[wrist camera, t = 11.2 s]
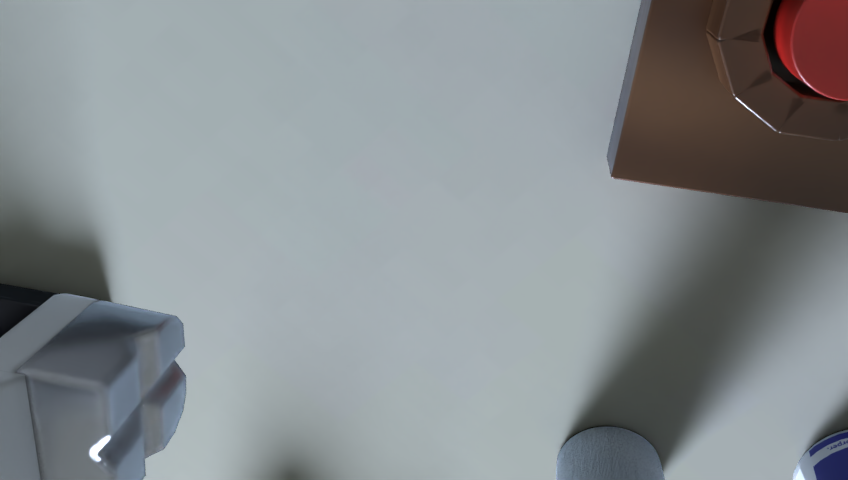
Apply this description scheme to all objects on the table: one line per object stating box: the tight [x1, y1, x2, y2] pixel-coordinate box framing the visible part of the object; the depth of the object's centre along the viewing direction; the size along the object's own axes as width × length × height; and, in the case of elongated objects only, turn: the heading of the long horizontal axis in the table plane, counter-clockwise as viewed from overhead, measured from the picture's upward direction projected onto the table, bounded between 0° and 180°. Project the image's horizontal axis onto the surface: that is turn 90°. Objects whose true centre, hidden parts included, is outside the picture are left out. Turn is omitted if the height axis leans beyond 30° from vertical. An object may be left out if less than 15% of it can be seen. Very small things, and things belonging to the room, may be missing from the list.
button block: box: [607, 0, 848, 213], centre depth 22 cm, size 12×10×4 cm
